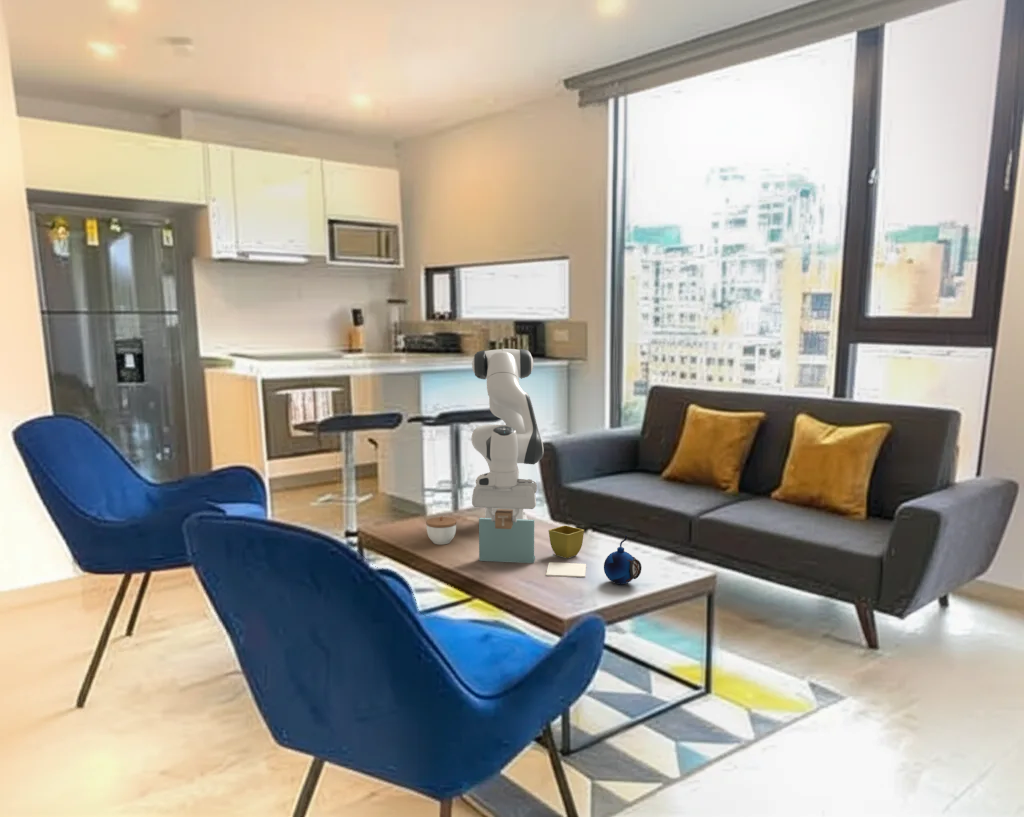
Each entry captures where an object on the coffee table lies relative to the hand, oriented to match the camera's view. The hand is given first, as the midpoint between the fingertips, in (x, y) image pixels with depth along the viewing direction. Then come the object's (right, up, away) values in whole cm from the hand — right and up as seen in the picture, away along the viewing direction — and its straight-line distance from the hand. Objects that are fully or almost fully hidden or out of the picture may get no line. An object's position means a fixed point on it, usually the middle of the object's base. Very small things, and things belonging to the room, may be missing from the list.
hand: (504, 521), depth 233 cm
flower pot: (+21, -14, +14) cm, 28 cm away
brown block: (0, -2, 0) cm, 2 cm away
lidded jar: (-23, -12, +29) cm, 39 cm away
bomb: (+35, -17, -13) cm, 41 cm away
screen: (+1, -14, +9) cm, 17 cm away
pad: (+20, -15, -1) cm, 25 cm away
